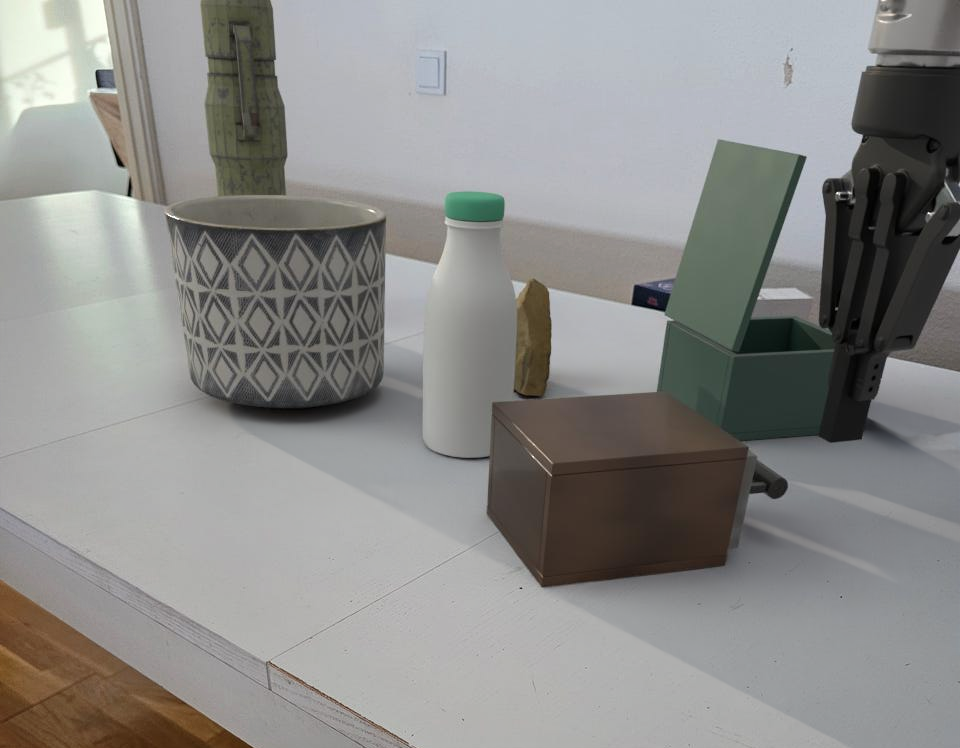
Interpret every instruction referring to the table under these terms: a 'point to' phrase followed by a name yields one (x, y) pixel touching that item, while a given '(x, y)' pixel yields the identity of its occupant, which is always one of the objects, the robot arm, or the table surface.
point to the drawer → (755, 491)
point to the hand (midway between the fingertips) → (839, 437)
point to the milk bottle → (468, 329)
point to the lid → (733, 239)
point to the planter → (280, 297)
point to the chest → (752, 377)
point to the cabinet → (612, 486)
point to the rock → (533, 339)
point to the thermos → (244, 98)
